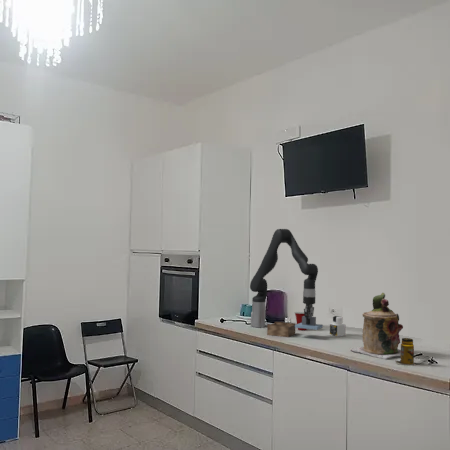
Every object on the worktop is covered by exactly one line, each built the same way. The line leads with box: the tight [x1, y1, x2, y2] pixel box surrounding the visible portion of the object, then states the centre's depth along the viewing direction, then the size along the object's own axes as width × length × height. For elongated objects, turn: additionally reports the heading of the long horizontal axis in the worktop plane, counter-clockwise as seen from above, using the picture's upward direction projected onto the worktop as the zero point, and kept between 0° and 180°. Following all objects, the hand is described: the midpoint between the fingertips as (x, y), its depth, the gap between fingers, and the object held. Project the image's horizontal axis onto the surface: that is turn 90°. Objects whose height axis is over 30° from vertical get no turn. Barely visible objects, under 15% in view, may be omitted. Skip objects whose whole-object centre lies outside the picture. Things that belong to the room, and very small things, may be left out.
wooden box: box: [266, 321, 296, 338], centre depth 316 cm, size 14×13×7 cm
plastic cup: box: [294, 311, 308, 331], centre depth 337 cm, size 11×11×12 cm
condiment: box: [394, 337, 416, 366], centre depth 243 cm, size 7×8×12 cm
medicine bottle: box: [329, 315, 347, 337], centre depth 318 cm, size 7×7×12 cm
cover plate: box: [295, 316, 323, 331], centre depth 308 cm, size 14×12×6 cm
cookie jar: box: [349, 292, 404, 360], centre depth 267 cm, size 25×25×32 cm
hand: (308, 323), depth 308 cm, fingers closed on cover plate, 3 cm apart
